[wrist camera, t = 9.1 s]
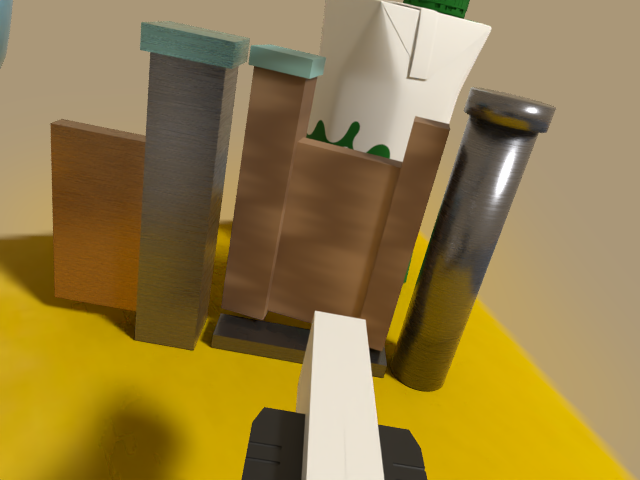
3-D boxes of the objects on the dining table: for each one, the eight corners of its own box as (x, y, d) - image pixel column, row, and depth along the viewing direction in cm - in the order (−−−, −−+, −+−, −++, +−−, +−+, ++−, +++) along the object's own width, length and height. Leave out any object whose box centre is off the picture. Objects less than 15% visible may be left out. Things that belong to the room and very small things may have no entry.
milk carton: (422, 289, 37) (519, -10, 29) (309, 295, 33) (385, -49, 25) (367, 236, 44) (433, -16, 36) (269, 235, 40) (318, -47, 32)
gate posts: (41, 327, 25) (29, -2, 19) (75, 290, 28) (74, 1, 22) (455, 400, 26) (570, 113, 20) (442, 357, 29) (537, 99, 23)
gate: (216, 308, 27) (251, 45, 22) (235, 285, 30) (270, 44, 24) (381, 357, 26) (461, 93, 21) (386, 329, 29) (459, 87, 23)
